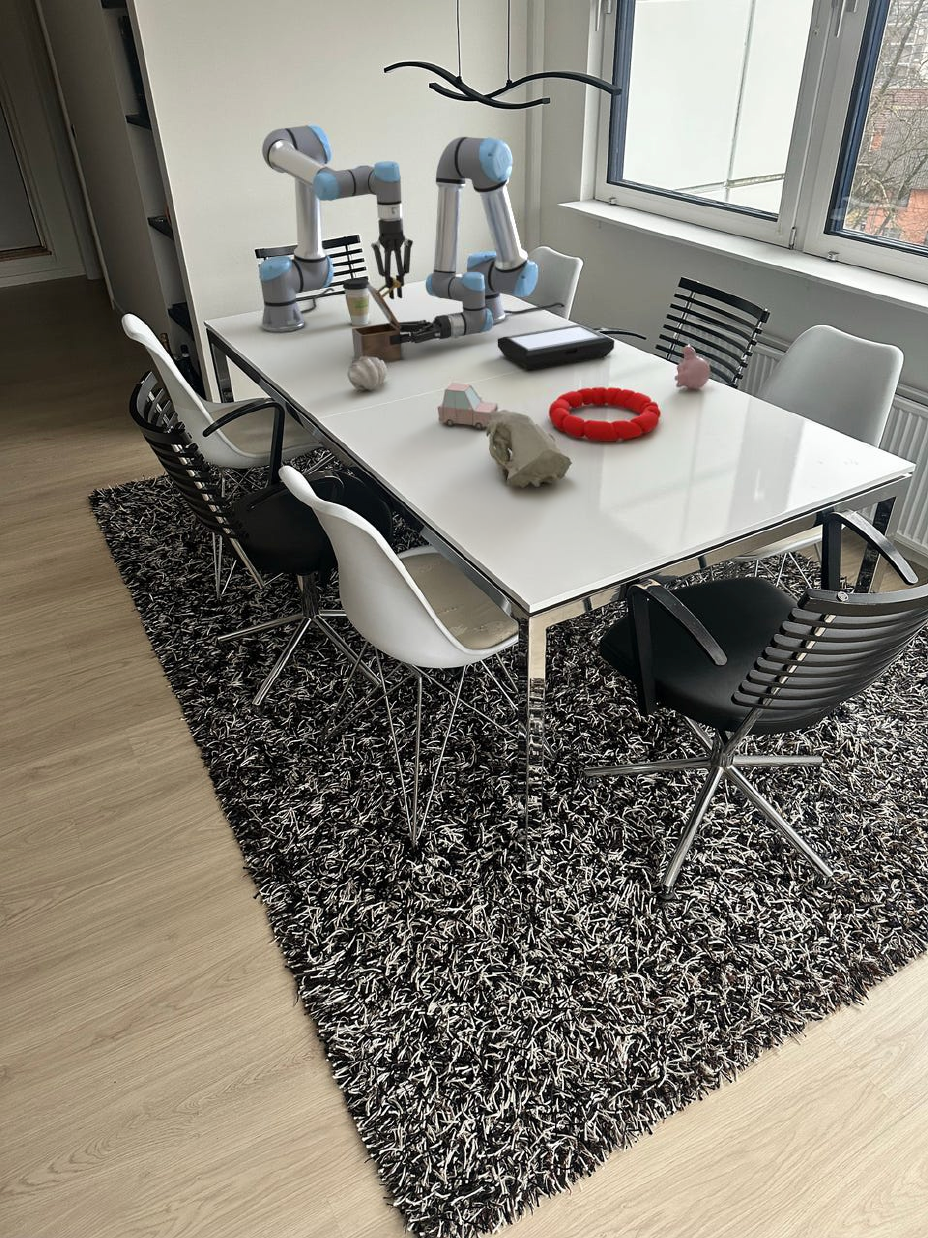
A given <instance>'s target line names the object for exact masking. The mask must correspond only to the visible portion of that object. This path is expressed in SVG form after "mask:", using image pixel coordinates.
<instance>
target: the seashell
mask: <svg viewBox="0 0 928 1238" xmlns="http://www.w3.org/2000/svg"><path fill="white" fill-rule="evenodd" d="M387 375H388V371H387V366H386V362H384V361H383V360H379V359H378V358H377V357H376V358H374V357H368V356H365V357H363V356H361V357H360V359H356V358H354V359H351V361H350V363H349V365H348V368H347V378H348V381H349V383H350V384H351V385H352V386H353V387H354V388H355V389H357V390H361V391H364V390H371V391H372V390H376V389H379V387H380V386H381V385H382V384H383V383H384V381H385V380H386V378H387Z"/></svg>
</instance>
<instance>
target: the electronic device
mask: <svg viewBox="0 0 928 1238" xmlns="http://www.w3.org/2000/svg"><path fill="white" fill-rule="evenodd" d="M497 348H498V349H499V351H500V352H501V353H502V355H503V356H504V357H506V359H509V360H510V361H511V362H514V363H516V364H517V365H519V366H520V367H522V368H524V369H525V370H526V371H532V370H538V369H542V368H543V369H544V368H548V367H554V366H555V367H556V366H560V365H567V364H572V363H578V362H582V361H587V360H594V359H600V358H604V357H608V355H609V354H610V353H611V352H612V351H613V350H614V349H615V340H614V339H612V338H611V337H609V336H607V335H605V334H603V333H601V332H599V331H596V330H595V329H593V328H591V327H589V326H587V325H585V324H583V323H578V324H573V325H566V326H561V327H554V328H549V329H542V330H536V331H531V332H525V333H518V334H514V335H508V336H507V335H506V336H503V337H498V338H497Z"/></svg>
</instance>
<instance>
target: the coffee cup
mask: <svg viewBox="0 0 928 1238" xmlns="http://www.w3.org/2000/svg"><path fill="white" fill-rule="evenodd" d="M368 284H369V285H371V283H370V282H369V279H367V278H365V277H351V278H347V279H345V280H344V281H343V285H342V288H343V290H344V297H345V301H346V305H347V310H348V314H349V318H350V323H351V325H353V326H357V327H362V326H366V325H368V324H369V317H370V316H369V313H370V292H369V290H368V288H367V287H366V286H367V285H368Z"/></svg>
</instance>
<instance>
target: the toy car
mask: <svg viewBox="0 0 928 1238" xmlns="http://www.w3.org/2000/svg"><path fill="white" fill-rule="evenodd" d="M498 409H499V404H498V403H497V402H490V401H489V402H487V401H483V397H481V396H480V395H479V394H478V393H477V391H476V390H475V389H474V386H472V384H469V383H459V382H451V383H450V384H449V385H448V386H447V387H446V388H445V389H444V394H443V399H442V403H440V404H439V405H438V406H437V413H438V421H439V422H443V423H446V425H447V426H448V427H452V426H454V425H455V424H461V425H469V426H473V427H475V429H476V430H479V431H480V430H481V429H483V428H485V427H486V428H487V423H488V422H490V414H491V413H492V412H496V411H499V410H498Z"/></svg>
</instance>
